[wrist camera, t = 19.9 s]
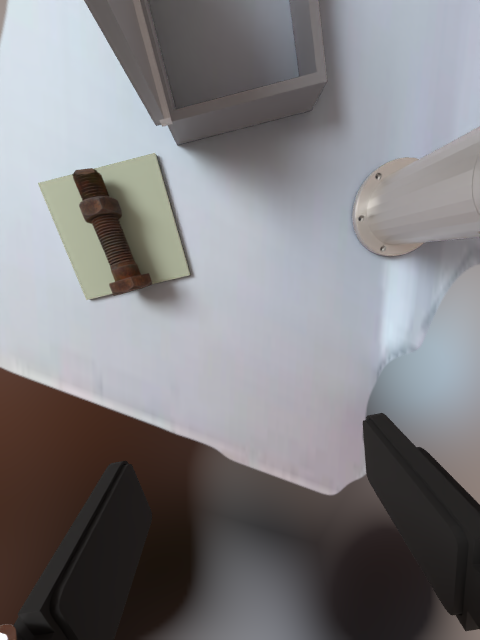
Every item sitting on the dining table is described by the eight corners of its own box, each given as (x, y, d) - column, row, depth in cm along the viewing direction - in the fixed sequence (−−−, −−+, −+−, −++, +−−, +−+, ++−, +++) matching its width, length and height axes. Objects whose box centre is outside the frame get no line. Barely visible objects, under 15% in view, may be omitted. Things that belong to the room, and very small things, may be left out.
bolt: (108, 182, 32) (148, 286, 35) (66, 185, 30) (113, 296, 33) (108, 159, 27) (154, 282, 30) (57, 160, 25) (114, 294, 28)
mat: (156, 155, 30) (154, 152, 30) (190, 274, 34) (189, 275, 34) (41, 184, 31) (38, 183, 30) (89, 299, 35) (86, 299, 34)
